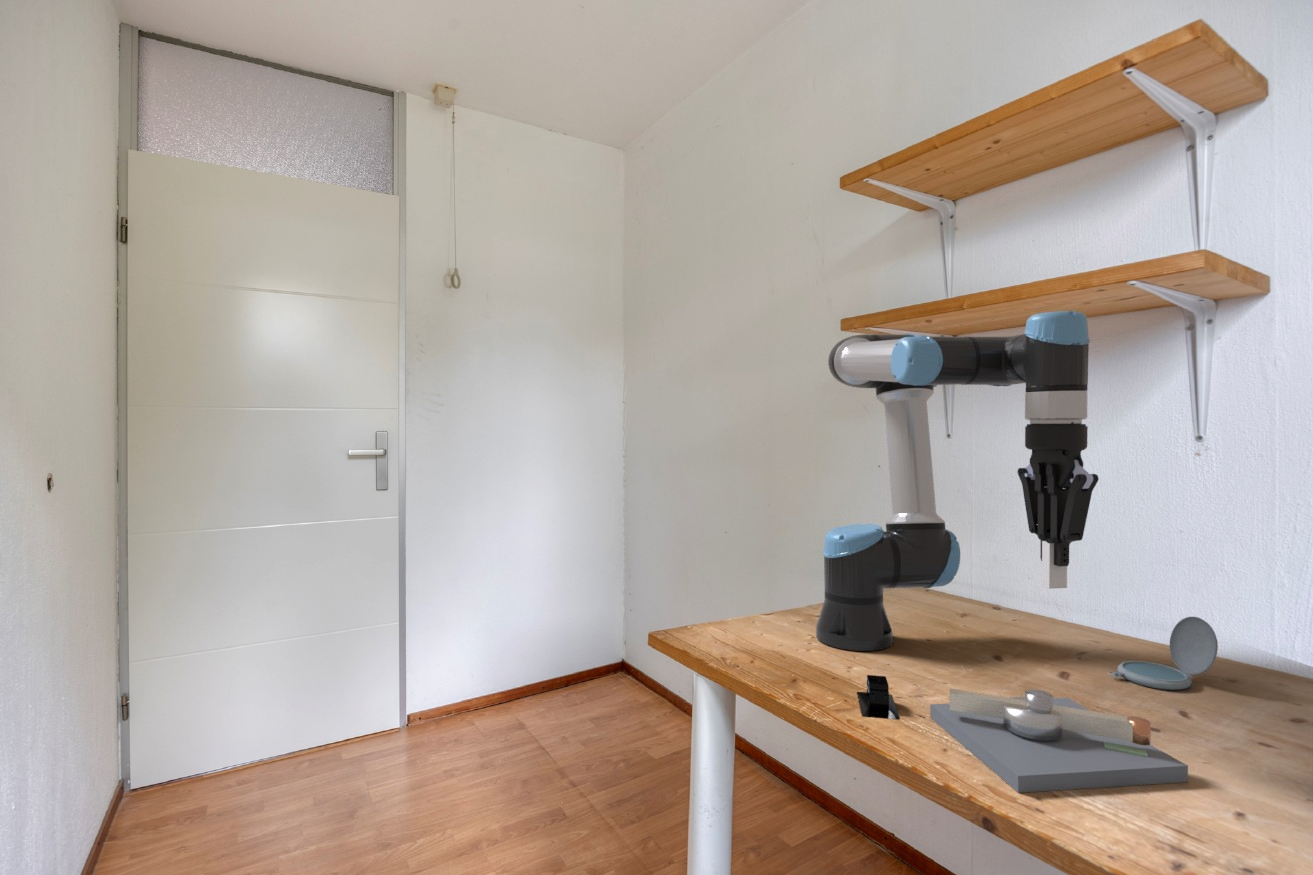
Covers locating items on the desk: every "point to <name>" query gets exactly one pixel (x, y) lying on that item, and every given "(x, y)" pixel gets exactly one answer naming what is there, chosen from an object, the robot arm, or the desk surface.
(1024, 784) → the stand
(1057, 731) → the rotary pointer lever
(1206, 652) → the pocket watch
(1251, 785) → the desk surface
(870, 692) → the black stepped block
